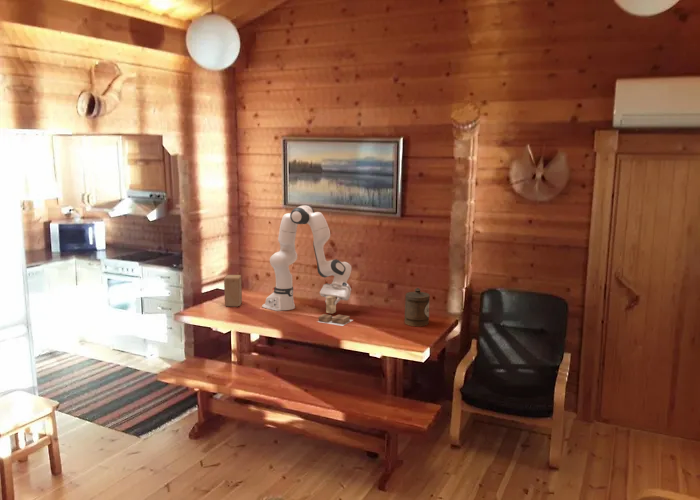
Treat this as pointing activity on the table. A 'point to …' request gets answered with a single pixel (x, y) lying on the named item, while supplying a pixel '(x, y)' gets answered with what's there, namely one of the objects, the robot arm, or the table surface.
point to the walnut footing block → (325, 318)
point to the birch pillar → (330, 304)
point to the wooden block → (233, 290)
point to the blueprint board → (335, 323)
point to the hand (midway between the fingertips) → (330, 303)
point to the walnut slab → (340, 319)
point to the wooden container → (417, 308)
